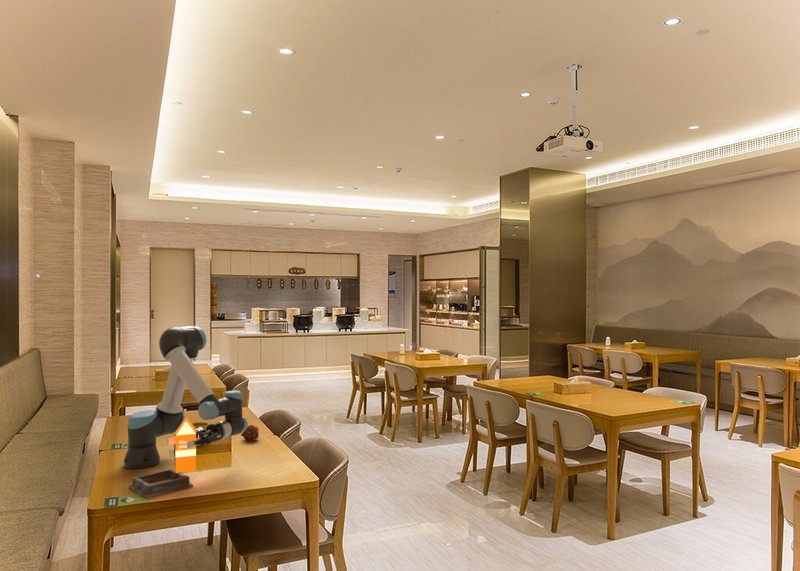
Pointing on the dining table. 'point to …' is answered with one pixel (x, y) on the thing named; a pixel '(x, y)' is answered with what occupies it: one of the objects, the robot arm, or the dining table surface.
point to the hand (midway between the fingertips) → (177, 443)
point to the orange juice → (185, 447)
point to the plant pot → (200, 425)
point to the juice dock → (160, 483)
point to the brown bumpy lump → (250, 433)
